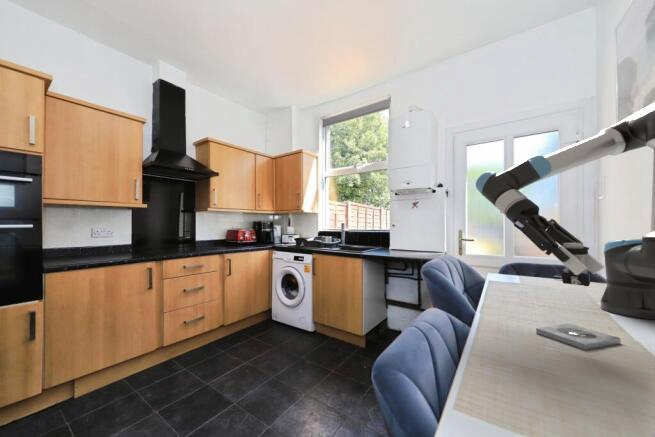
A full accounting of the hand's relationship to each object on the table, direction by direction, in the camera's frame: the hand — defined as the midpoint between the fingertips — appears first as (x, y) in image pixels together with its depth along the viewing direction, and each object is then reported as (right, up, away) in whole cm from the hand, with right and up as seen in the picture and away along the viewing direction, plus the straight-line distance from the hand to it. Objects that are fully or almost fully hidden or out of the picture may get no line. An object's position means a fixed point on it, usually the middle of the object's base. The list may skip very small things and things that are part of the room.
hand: (590, 270), depth 59 cm
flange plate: (-1, -17, +2) cm, 17 cm away
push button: (-1, -4, +4) cm, 6 cm away
